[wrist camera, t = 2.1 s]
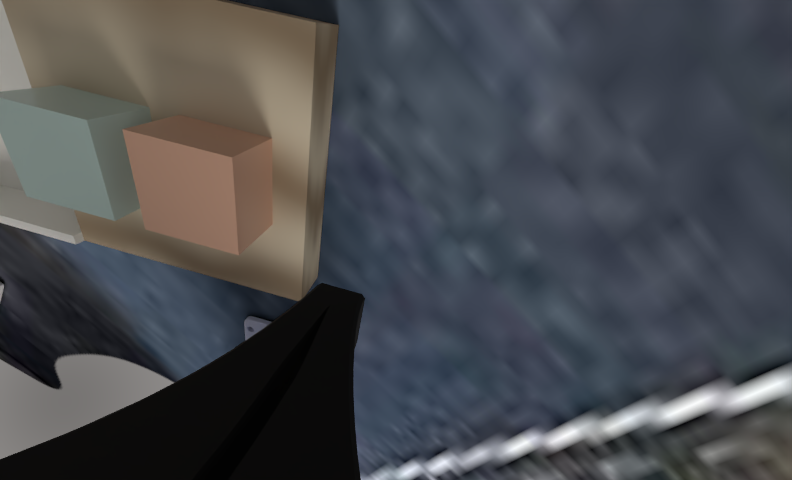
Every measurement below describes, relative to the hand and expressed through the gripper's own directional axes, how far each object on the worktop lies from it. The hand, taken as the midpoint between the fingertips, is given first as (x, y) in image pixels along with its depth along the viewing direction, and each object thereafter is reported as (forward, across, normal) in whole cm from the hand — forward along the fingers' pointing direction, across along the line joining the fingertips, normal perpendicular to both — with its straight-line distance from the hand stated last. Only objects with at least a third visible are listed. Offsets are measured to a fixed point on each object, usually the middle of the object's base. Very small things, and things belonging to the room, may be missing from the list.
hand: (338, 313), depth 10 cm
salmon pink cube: (+7, +8, 0) cm, 11 cm away
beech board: (+9, +11, 0) cm, 14 cm away
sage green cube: (+7, +14, 0) cm, 16 cm away
